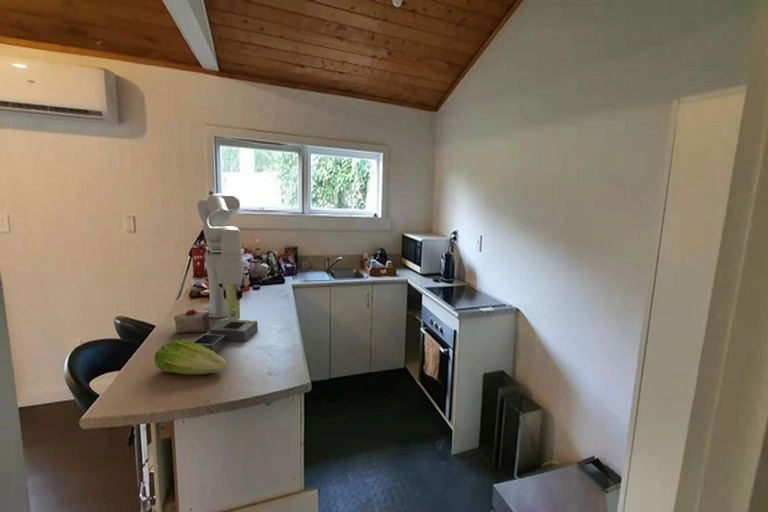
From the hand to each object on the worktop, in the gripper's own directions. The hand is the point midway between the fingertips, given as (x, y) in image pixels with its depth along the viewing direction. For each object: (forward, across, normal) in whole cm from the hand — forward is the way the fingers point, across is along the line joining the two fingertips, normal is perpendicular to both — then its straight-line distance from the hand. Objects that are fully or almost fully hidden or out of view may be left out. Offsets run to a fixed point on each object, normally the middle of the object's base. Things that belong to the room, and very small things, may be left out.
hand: (233, 298), depth 153 cm
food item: (+17, -22, +4) cm, 28 cm away
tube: (+10, 0, 0) cm, 10 cm away
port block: (+17, 0, 0) cm, 17 cm away
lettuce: (+18, +1, -32) cm, 37 cm away
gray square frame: (+17, -4, -14) cm, 22 cm away
